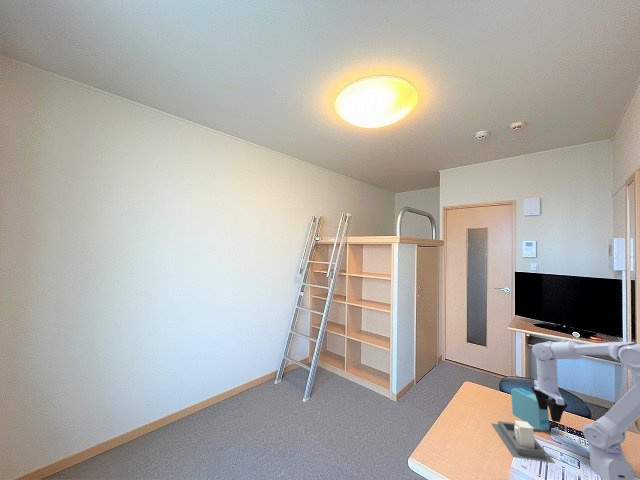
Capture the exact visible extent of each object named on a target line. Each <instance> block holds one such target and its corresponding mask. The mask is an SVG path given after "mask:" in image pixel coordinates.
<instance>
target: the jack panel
mask: <svg viewBox="0 0 640 480" xmlns="http://www.w3.org/2000/svg"><path fill="white" fill-rule="evenodd" d="M491 426H492V427H493V429H494V430H495V432H496V434H497V435H498V437H499V438H500V439H501V441H502V442H503V444H504V445H505V447H506V448H507V450H508V452H509V453H510V455H511V456H512V458H516V459H524V460H531V461H535V462H536V461H538V462H543V463H552V464H556V462H555V461H554V460H553V458H552V457H551V456H550V455H549V453H547V452H546V450H545V449H544V448H543V447H542V446H541V444H540V443H539V442H538V441H537V440H536V438H534V447H535V449H534V448H527V447H520V446H519V445H518V443H517V442H516V438H515V430H514V426H515V423H514V422H509V421H497V423H492V422H491Z"/></svg>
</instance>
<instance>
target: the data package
mask: <svg viewBox="0 0 640 480" xmlns="http://www.w3.org/2000/svg"><path fill="white" fill-rule="evenodd" d="M510 391H511V393H510V394H511V406H512V407H511V408H512V415H513V416H515V417H516V418H518V419H519V420H520V421H524V422H528V423H529V424H530V426H531V427H532V428H534V429H541V430H542V432H546V431H550V419H549V418H550V417H549V415H550V414H549V407H547V410H543V409H540V408H539V405H538V402H537V398H536V396H535V394H534V392H531V391H529V390H527V389H525V388H523V387H517V388H512V389H511V390H510Z"/></svg>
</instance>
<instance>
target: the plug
mask: <svg viewBox="0 0 640 480" xmlns="http://www.w3.org/2000/svg"><path fill="white" fill-rule="evenodd" d="M513 421H514V422H513V423H515V426H514V430H515V438H516V442H517V443H518V445H519V446H520V447H527V448H534V449H535V447H534V439H535V435H534V433H543V431H542V430H541V429H535V428H534V427H532V426H531V425H530V424H529V423H528V422H524V421H523V420H515V419H514V420H513Z"/></svg>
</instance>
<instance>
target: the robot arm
mask: <svg viewBox="0 0 640 480" xmlns="http://www.w3.org/2000/svg"><path fill="white" fill-rule="evenodd" d="M531 350H532V353H533V355H534V357H535V358H536V375H537V379H533V384H534V385H533V386H532V387H531V390H532V393H533V394H535V396H536V398H537V402H538V405H539V408H540V409H543V410H547V407H548V411H549V415H550V419H551V421H552V422H556V423H560V422H561V419H562V416H563V413H564V412H565V410H566V409H567V408H568V403H566V402H565V399H564V398H563V397H562V394H561V392H560V391H559V382H558V381H559V380H558V365H557V363H558V360H580V359H581V358H582V356H610V357H611V358H613V359H614V360H615V361H621V362H622V364H623V365H624V366H625V367H626V368H627V369H628V370H629V372H630V373H632V374H633V376H635V379H636V380H637V382H636V383H635V384H634V385H633V386H632V387H631V388H630V389H629V390H628V391H627V392H626V393H625V394H624V395H623V396H622V397H621V398H620V399H619V400H618V401H617V402H616V403H615V404H614V405H612V407H611V408H610V409H609V410H608V411H607V412H606V413H605V414H604V415H602V416H601V417H600V418H598V419H596V420H595V421H594V422H591V423H588V424H585V425H583V426H582V434H583V436H584V438H585V439H586V440H587V442H588V452H589V463H590V465H589V466H590V469H591V470H592V472H593V473H594V474H596V475H597V476H599V477H600V478H601V479H602V480H635V474H634V469H633V467H632V465H631V464H630V462H628V461H627V459H626V458H625V455H624V453H623V447H622V443H623V442H625V440H626V433H627V432H628V431H629V430H630V429H629V428H630V427H631V426H632V425H633V424H634V423H635V422H637V420H638V419H639V418H640V342H638V343H636V342H634V341H608V342H598V343H597V342H596V343H594V342H593V343H584V344H583V343H582V344H578V343H576V342H575V341H572V340H569V339H567V338H566V339H565V338H564V339H561V340H560V341H552V340H549V341H545V342H538V343H535V344H533V346H532V349H531ZM549 398H551V399H549Z"/></svg>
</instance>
